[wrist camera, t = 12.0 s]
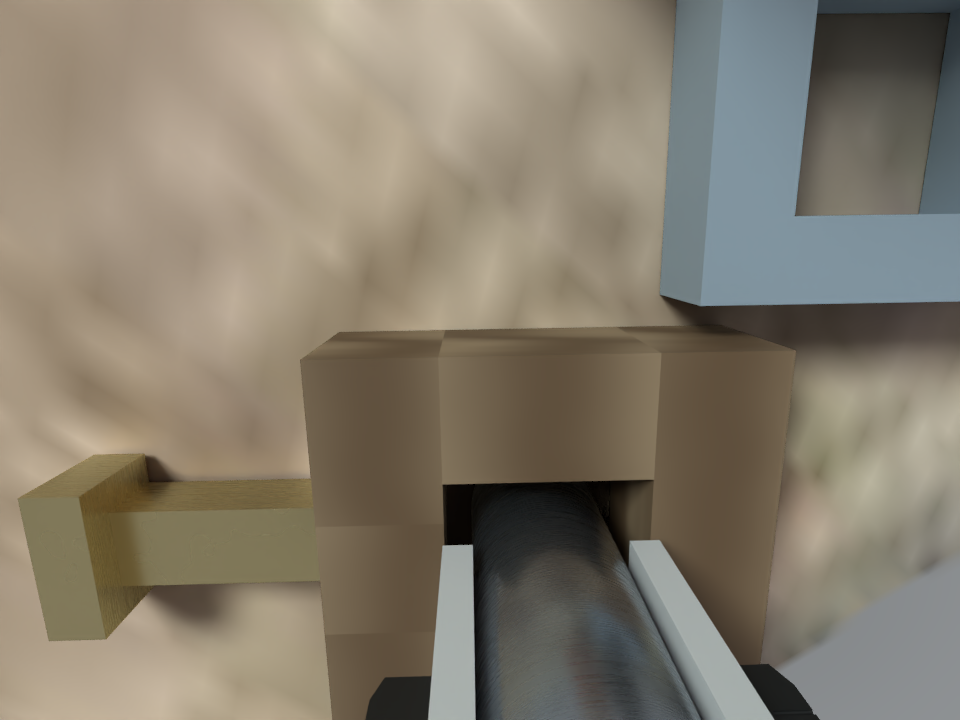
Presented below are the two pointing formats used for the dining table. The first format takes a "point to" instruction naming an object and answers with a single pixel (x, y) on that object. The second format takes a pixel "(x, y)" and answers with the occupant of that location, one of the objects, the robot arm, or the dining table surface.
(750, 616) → the socket block
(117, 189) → the dining table surface
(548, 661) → the grey round-ended peg
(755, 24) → the square frame
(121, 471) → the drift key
